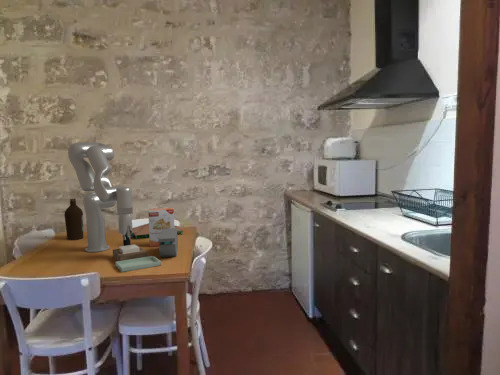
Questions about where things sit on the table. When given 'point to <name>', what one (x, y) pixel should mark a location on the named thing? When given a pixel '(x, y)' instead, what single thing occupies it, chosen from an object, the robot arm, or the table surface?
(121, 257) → the riser
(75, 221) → the olive oil
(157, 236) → the cracker box
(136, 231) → the house
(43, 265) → the table surface
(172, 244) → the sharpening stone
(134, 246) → the coaster
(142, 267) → the tray
